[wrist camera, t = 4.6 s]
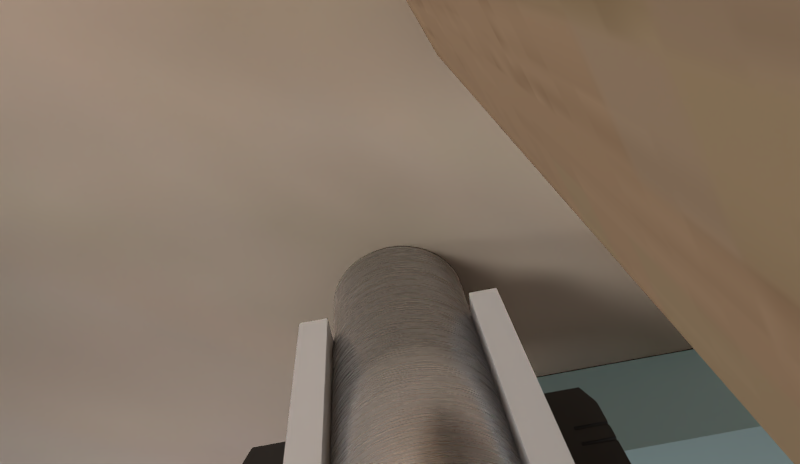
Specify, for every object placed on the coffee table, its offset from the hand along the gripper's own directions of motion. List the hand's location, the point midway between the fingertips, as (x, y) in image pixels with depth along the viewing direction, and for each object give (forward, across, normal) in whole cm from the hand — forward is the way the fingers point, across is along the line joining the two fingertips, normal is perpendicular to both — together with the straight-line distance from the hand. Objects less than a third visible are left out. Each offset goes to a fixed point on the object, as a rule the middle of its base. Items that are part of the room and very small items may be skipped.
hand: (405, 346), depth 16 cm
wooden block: (+2, +5, +13) cm, 14 cm away
